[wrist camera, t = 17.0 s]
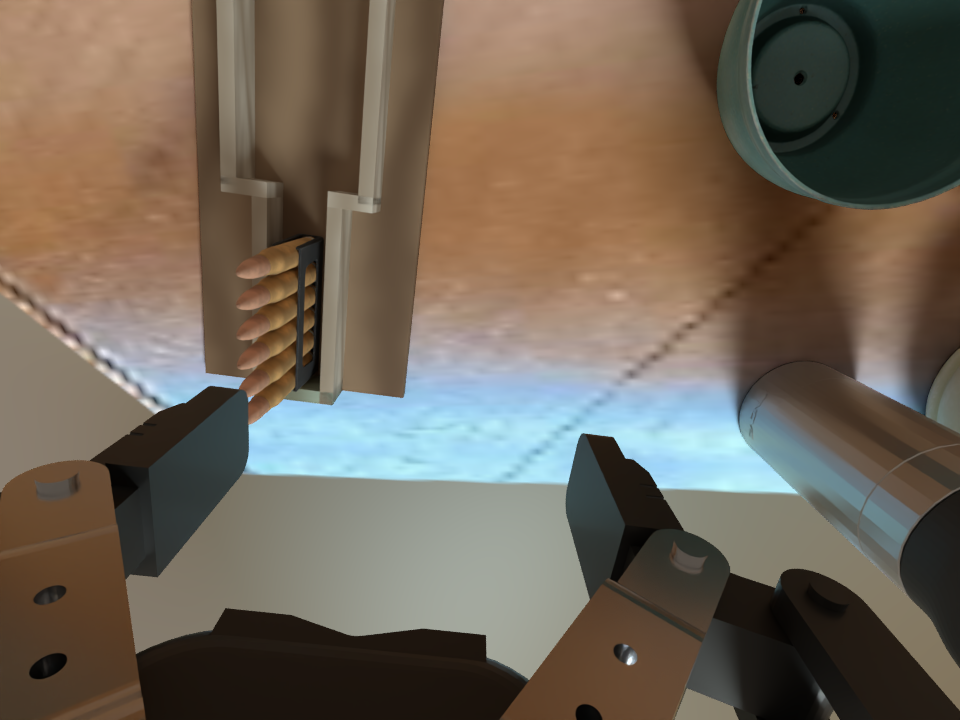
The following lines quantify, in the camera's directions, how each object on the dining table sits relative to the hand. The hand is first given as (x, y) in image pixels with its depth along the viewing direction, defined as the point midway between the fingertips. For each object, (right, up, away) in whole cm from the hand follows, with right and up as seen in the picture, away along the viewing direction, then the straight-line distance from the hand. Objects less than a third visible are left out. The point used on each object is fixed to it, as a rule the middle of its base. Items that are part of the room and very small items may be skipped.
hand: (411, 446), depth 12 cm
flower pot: (+23, +21, +23) cm, 39 cm away
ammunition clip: (-12, +6, +27) cm, 30 cm away
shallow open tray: (-10, +14, +25) cm, 30 cm away
